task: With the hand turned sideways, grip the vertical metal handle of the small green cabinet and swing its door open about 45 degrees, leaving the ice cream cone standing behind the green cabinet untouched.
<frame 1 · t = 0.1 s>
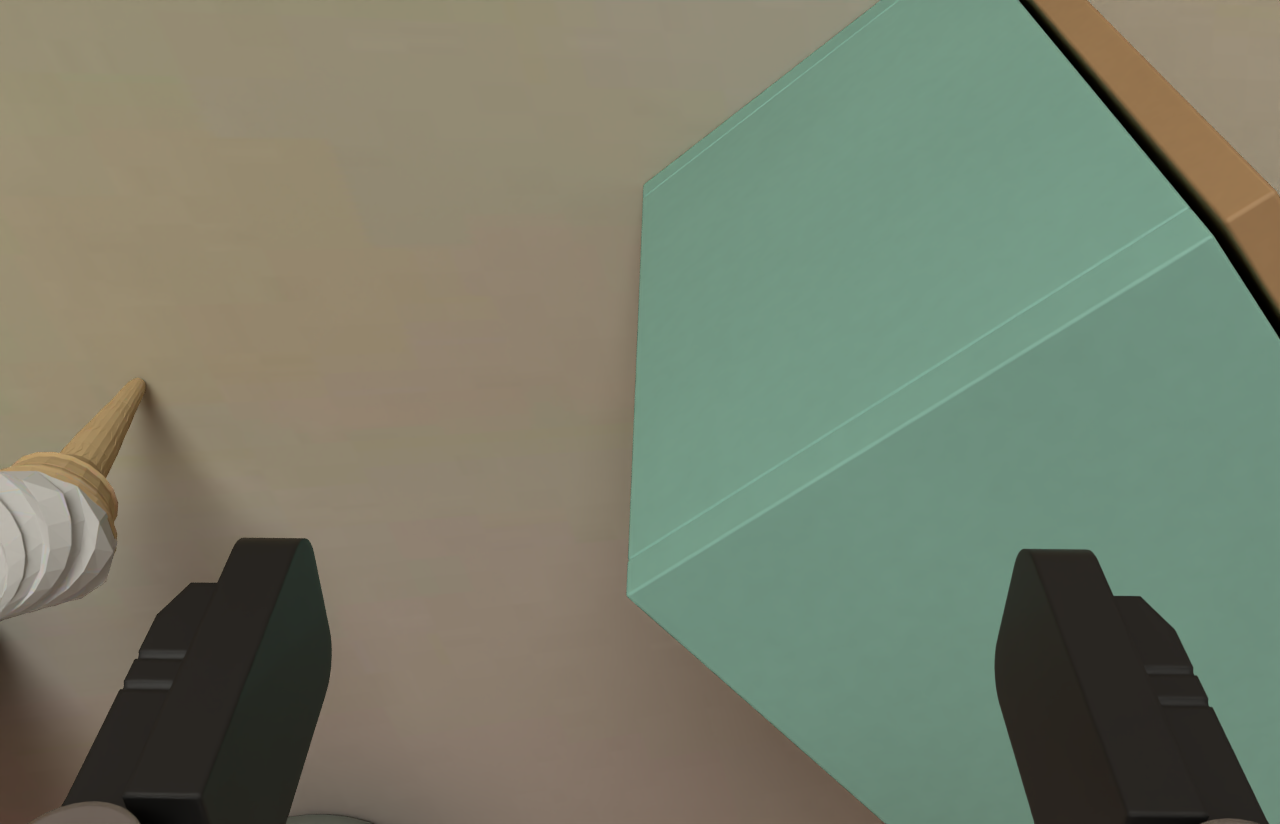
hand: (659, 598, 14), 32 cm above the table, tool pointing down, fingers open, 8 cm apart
green cabinet: (962, 282, 48), on the table
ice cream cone: (140, 377, 51), on the table
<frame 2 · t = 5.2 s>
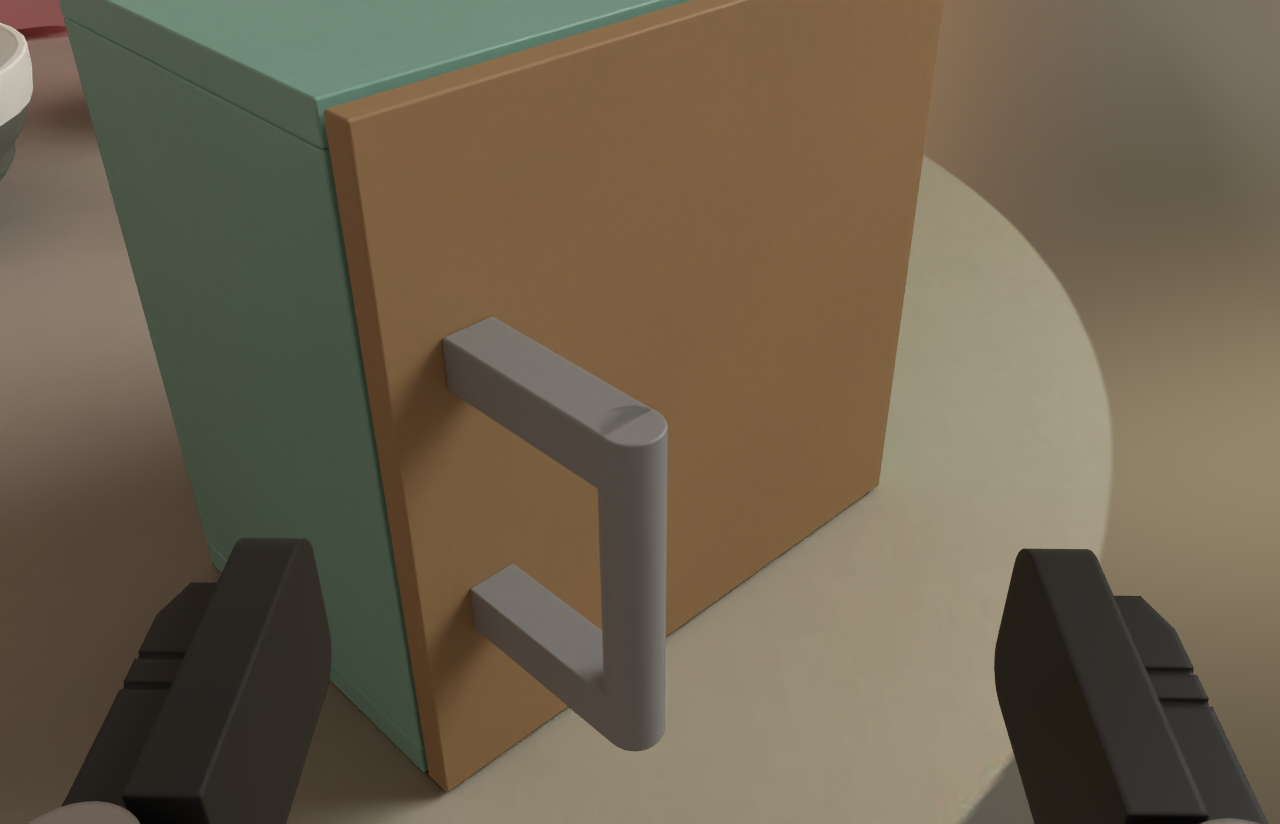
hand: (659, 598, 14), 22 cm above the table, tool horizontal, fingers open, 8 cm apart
wooden cabinet door: (770, 400, 37), point 11 cm above the table, hinge at 0.0°
green cabinet: (548, 518, 50), on the table
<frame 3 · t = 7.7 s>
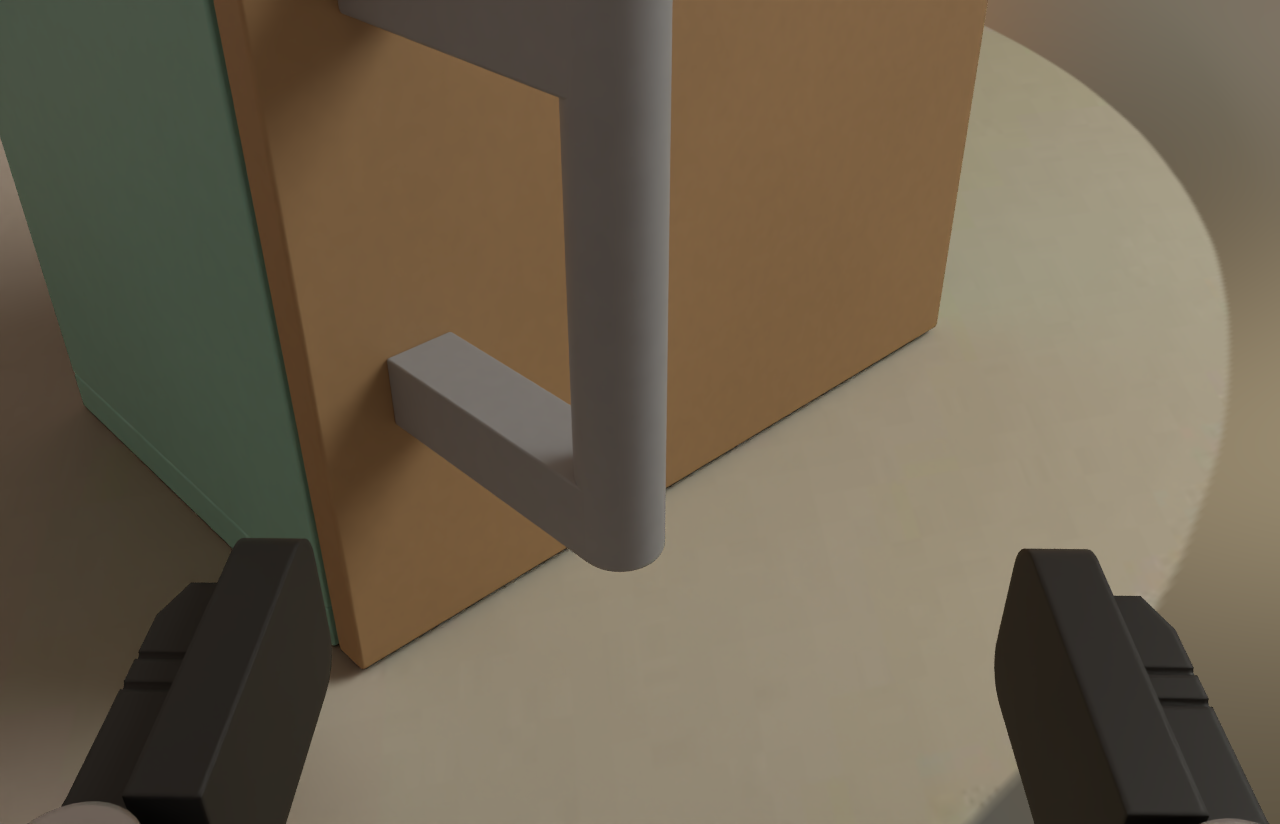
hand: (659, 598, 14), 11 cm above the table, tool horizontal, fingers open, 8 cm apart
wooden cabinet door: (817, 112, 26), point 11 cm above the table, hinge at 0.0°
green cabinet: (518, 358, 39), on the table
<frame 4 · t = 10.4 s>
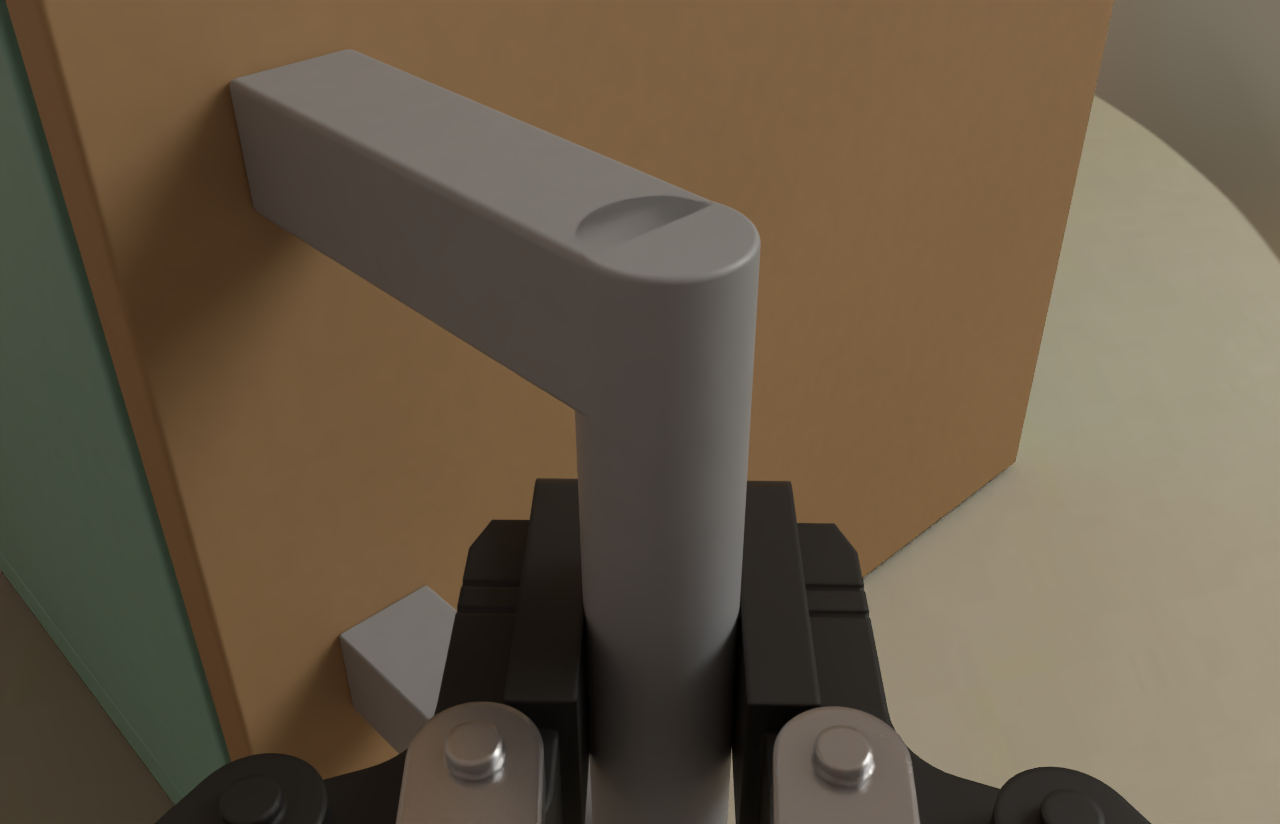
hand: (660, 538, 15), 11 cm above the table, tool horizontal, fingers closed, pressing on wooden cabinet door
wooden cabinet door: (910, 284, 20), point 11 cm above the table, hinge at 0.6°, touching gripper
green cabinet: (518, 504, 33), on the table
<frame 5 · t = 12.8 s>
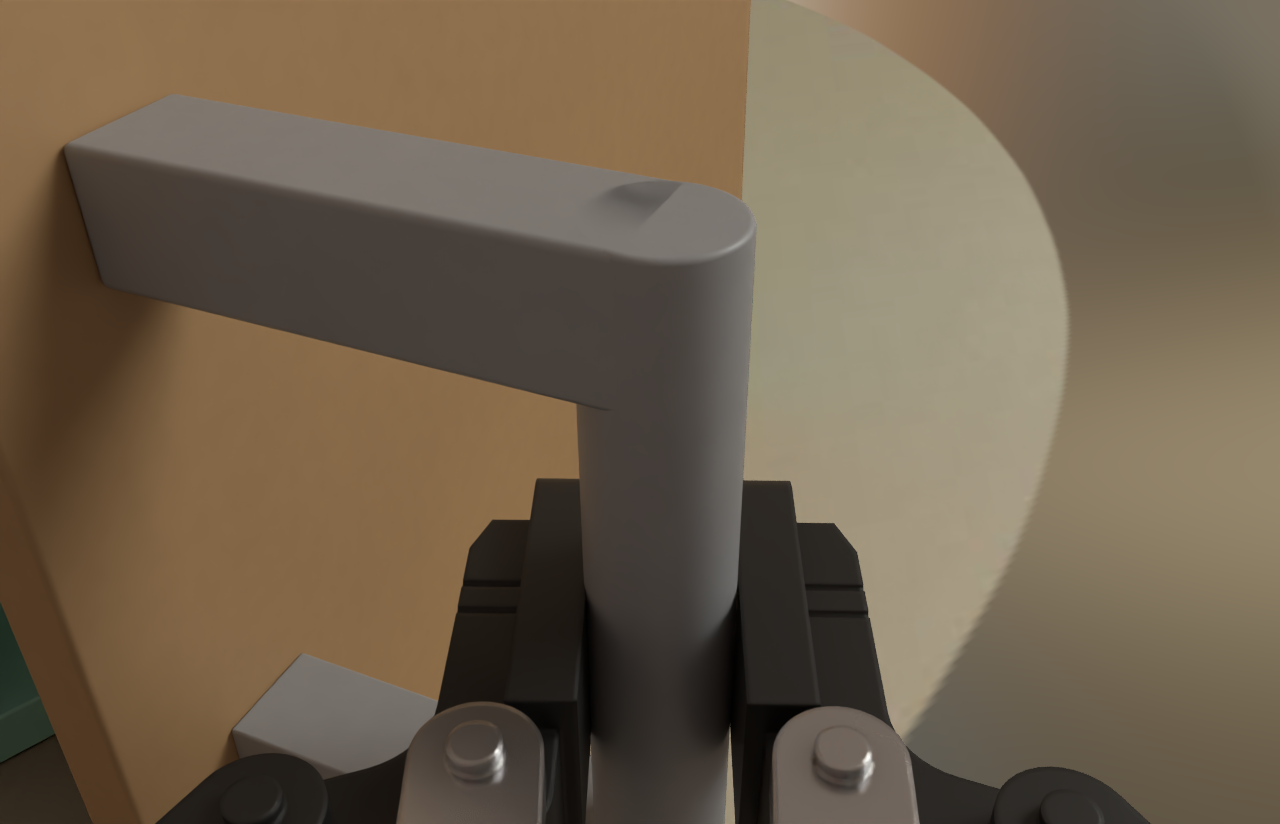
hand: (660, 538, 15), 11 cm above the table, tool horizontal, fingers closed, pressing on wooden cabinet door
wooden cabinet door: (691, 248, 21), point 11 cm above the table, hinge at 24.2°, touching gripper
green cabinet: (255, 441, 35), on the table
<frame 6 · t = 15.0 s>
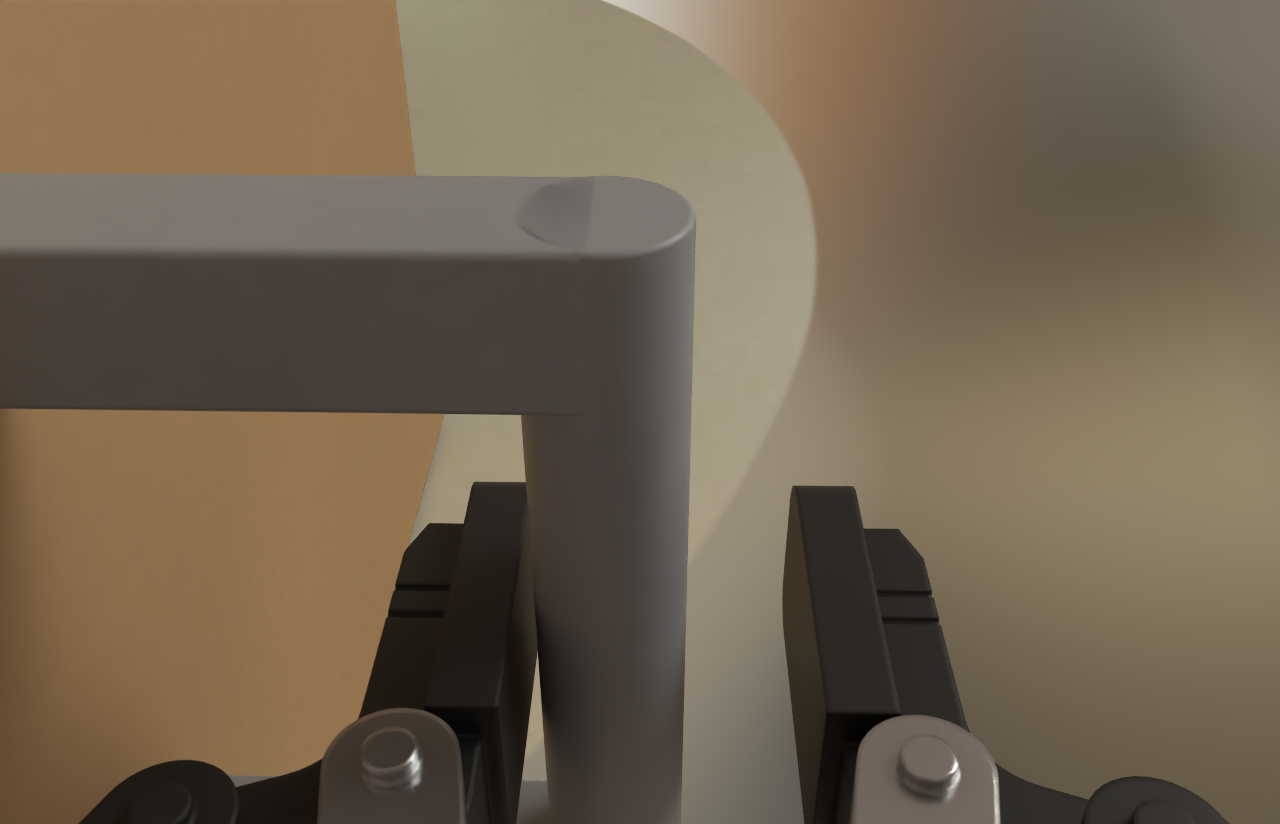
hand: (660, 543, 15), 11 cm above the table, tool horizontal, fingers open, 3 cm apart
wooden cabinet door: (449, 260, 20), point 11 cm above the table, hinge at 44.8°
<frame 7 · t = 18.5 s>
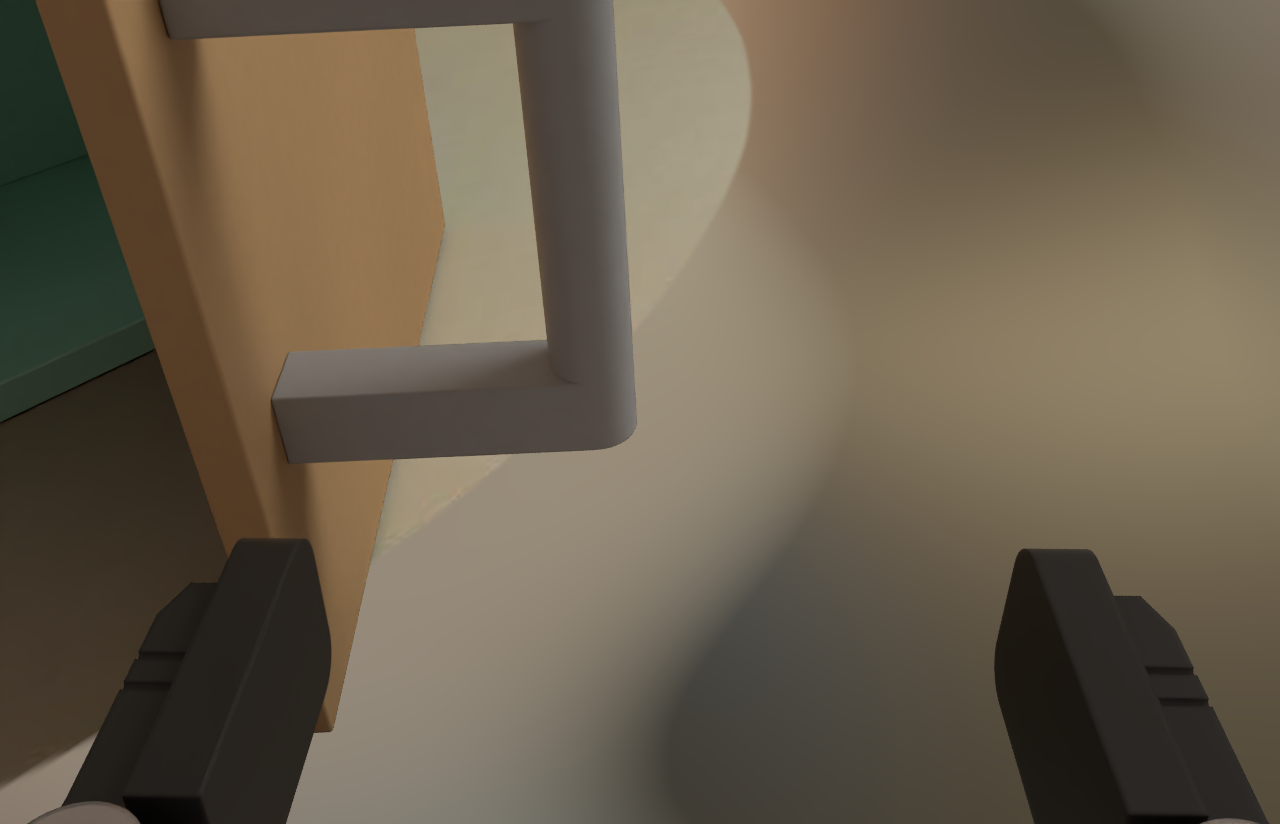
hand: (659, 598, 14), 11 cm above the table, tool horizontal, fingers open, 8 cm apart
wooden cabinet door: (452, 30, 28), point 11 cm above the table, hinge at 44.8°
green cabinet: (38, 283, 42), on the table
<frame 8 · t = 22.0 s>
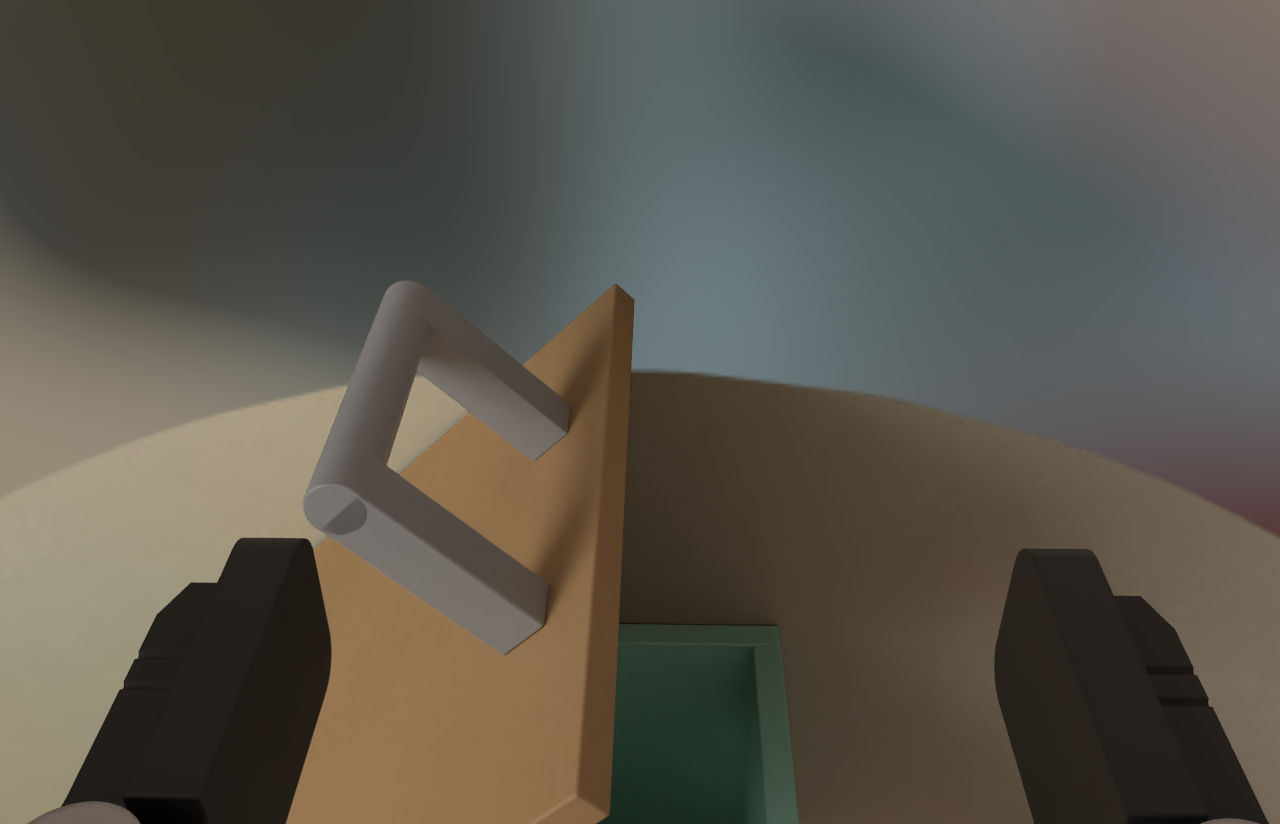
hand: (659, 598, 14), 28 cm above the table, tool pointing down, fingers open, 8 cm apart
wooden cabinet door: (283, 616, 38), point 11 cm above the table, hinge at 44.8°
green cabinet: (530, 730, 57), on the table
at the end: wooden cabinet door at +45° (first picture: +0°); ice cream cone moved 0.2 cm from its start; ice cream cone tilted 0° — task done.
